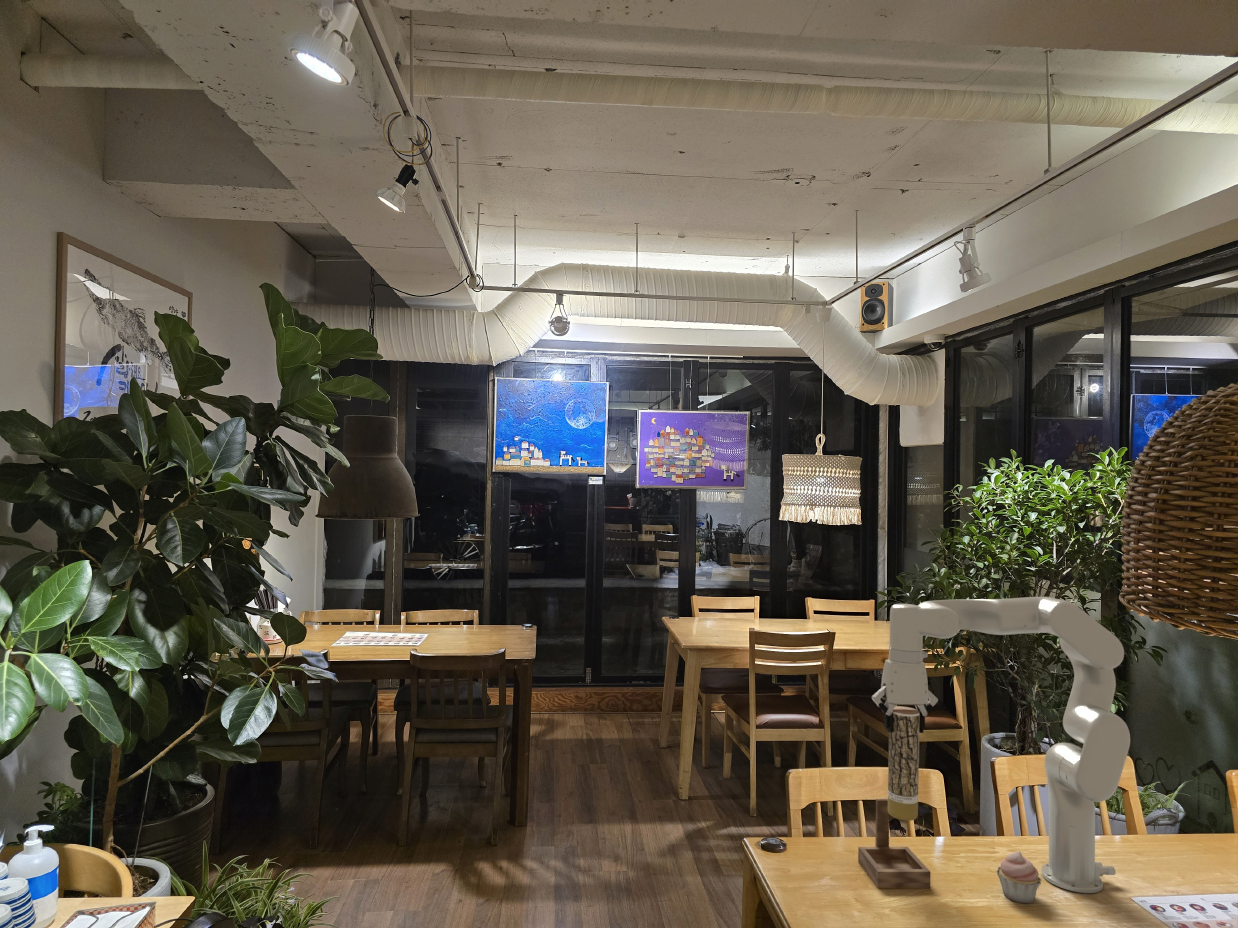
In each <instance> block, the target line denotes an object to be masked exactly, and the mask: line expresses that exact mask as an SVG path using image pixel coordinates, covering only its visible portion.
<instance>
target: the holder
mask: <svg viewBox="0 0 1238 928" xmlns="http://www.w3.org/2000/svg"><path fill="white" fill-rule="evenodd" d="M857 848H858V849H857V851H858V857H857V859H858V860H857V861H858V864H859V865H860V867H861V868H862V869H863V871H864V872H865V873H866V874H867V876H868V877H869V879H870V880H871V881H872V882H873V884H874V885H875V887H876V888H878V889H931V871H930V869H929V868H928V867H927V866H926V865H925V864H924V863H923V862H922V861H921V859H920V858H919V857H918V856H916V854H915V853H914V852H913V851H912V850H911V849H910V847H909V846H890V814H889V813H888V798H876V799H875V846H858V847H857Z"/></svg>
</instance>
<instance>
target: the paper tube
mask: <svg viewBox="0 0 1238 928" xmlns="http://www.w3.org/2000/svg"><path fill="white" fill-rule="evenodd" d="M892 716H893V717H894V723H893V732H892V733H890V732H889V731H888V761H887V762H888V767H887V768H888V770H887V772H888V773H887V799H888V813H889V816H891V817H892V818H894V819H897V820H900V821H907V822H908V821H909V822H911V821H914V820H916V819H917V818H918V816H919V811H918V810H919V778H920V775H919V773H920V772H919V771H920V770H919V767H920V766H919V765H920V732H919V724H920V714H919V711H918V710H917V709H915V708H913V707H909V706H903V705H901V706H900V705H895V707H894V709H893V711H892Z"/></svg>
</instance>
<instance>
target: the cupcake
mask: <svg viewBox="0 0 1238 928" xmlns="http://www.w3.org/2000/svg"><path fill="white" fill-rule="evenodd" d="M995 872H996V874H997V876H998V878H999V882H1000V886H1001V889H1002V893H1003V895H1004V896H1005V897H1006V898H1008V899H1009V900H1011V901H1013V902H1017V903H1022V904H1031V903H1033V902H1034V901H1035V899H1036V896H1037V890H1038V889H1039V887H1040V886H1041V882H1042V881H1043V879H1042V878H1041V877H1040V876H1039V871H1038V869H1037V867H1035V866H1034V864H1033V863H1032V862H1031V860H1029V859H1028V858H1027V857H1025V856H1023V855H1022V853H1021V851H1020V850H1019V851H1012V852H1011V853H1010V854H1008V855H1006V857H1005V858H1003V859H1002V860H1001V862H1000V866H997V869H996V871H995Z"/></svg>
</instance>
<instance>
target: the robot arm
mask: <svg viewBox="0 0 1238 928" xmlns="http://www.w3.org/2000/svg"><path fill="white" fill-rule="evenodd" d="M960 630H966V631H974V632H979V633H984V634H988V635H998V636H1006V635H1007V636H1009V635H1018V634H1019V635H1021V634H1038V633H1039V634H1040V633H1041V634H1042V633H1044V634H1045V633H1046V634H1050V635H1053V636H1056V637H1058V639H1059V645H1060V648H1061V650H1062V651H1063V653H1065V655H1066V656H1067V658H1068V659H1069V661H1070V663H1071V665H1072V668H1073V674H1074V677H1073V682H1072V688H1071V691H1070V695H1069V698H1068V701H1067V705H1066V708H1065V710H1064V714H1063V718H1062V727H1063V729H1064V731H1065V733H1067V735H1069V736H1070V737H1071V738H1073V739H1074V740H1076V741H1077V742H1079V743H1081V744H1083V745H1082V747H1079V746H1078V745H1075V744H1073V743H1070V742H1057V743H1055V744H1053V745H1052V746H1051V747H1049V749H1048V750H1047V752H1046V753H1045V756H1044V770H1045V776H1046V782H1047V789H1048V791H1047V792H1048V863H1045V864H1043V865H1042V866H1041V869H1040V871H1041V872H1040V873H1041V876H1042V878H1044V879H1045V880H1046V881H1047V882H1049V883H1050V884H1052V885H1054V886H1056V887H1059V888H1061V889H1064V890H1066V891H1070V892H1074V893H1079V894H1080V893H1082V894H1095V893H1099V892H1100V891H1102V890H1103V888H1104V883H1103V879H1102V878H1101V877H1103V876H1105V875H1106V876H1114V875H1116V869H1115V867H1114V866H1112V865H1103V863H1102V862H1101V861H1096V805H1095V803H1099V802H1105V801H1107V800H1109V799H1110V798H1112V796H1113V795H1114V794H1115V793H1116V791H1117V788H1118V786H1119V784H1120V780H1121V778H1122V773H1123V770H1124V767H1125V763H1126V760H1127V757H1128V754H1129V750H1130V746H1131V734H1130V730H1129V727H1128V725H1127V723H1126V722H1125V721H1124V720H1123V718H1121V717H1120V716H1118V715H1117V714H1115V713H1113V712H1111V710H1112V707H1113V701H1114V696H1115V693H1116V687H1117V686H1116V683H1117V682H1116V674H1115V672H1114V669H1115V668H1117V667H1118V666H1120V665H1121V663H1122V662H1123V661H1124V658H1125V649H1124V646H1123V643H1122V642H1121V641H1120V639H1119V638H1118V637H1117V636H1116V635H1115V634H1113V633H1112V632H1111V631H1109V630H1108V629H1107V628H1106V627H1104V626H1103V625H1101V623H1100V622H1099V621H1097V620H1095V619H1094V618H1093V617H1092V616H1090V615H1089V614H1088V613H1086V611H1084V610H1083V609H1081V608H1080V607H1079V606H1077V605H1075V604H1074V603H1072V602H1070V601H1067V600H1063V599H1058V598H1054V597H1050V596H1028V597H1027V596H1025V597H1015V598H1014V597H1013V598H1011V597H1010V598H990V599H989V598H987V599H986V598H985V599H984V598H980V599H941V600H940V599H939V600H936V599H935V600H927V601H923V602H920V603H919V604H918V605H916V604H911V603H894V604H893V605H891V607H890V611H889V642H888V643H889V644H888V645H889V646H888V648H889V651H888V653H889V654H888V659H885V661H884V665H883V668H882V669H883V670H882V677H881V683H880V689H878V690H877V691H876V692H875V693H874V694H873V695H871V699H872V701H873V702H874V703H875V704H876V706H877V707H878V708H879V709H880V710H881V711H882V713H883V728H884V729H885V730H886V731H887V732H888V733H889V732H890V733H892V732H893V723H894V717H893V716H892V711H893V709H894V707H895V706H900V705H901V706H915V708H916V710H918V711H919V714H920V724H919V734H924V729H925V728H926V717H927V716H928V713H929V712H930V711H931V710H933V707H934V706H935V705H936V704H937V703H938V701H939V698H938V697H937V696H935V694H933V693H932V691H930V690H929V685H928V683H929V682H928V674H927V668H926V663H925V662H923V661H924V659H925V658H928V656H929V655H928V652H927V651H924V648H923V645H924V644H923V639H924V638H923V637H924V636H926V637H932V638H937V639H943V640H944V639H949V638H952V637H955V636H956V635H957V634H958V633H959V632H960ZM881 699H883V700H885V702H884V703H883V702H882V700H881Z"/></svg>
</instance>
